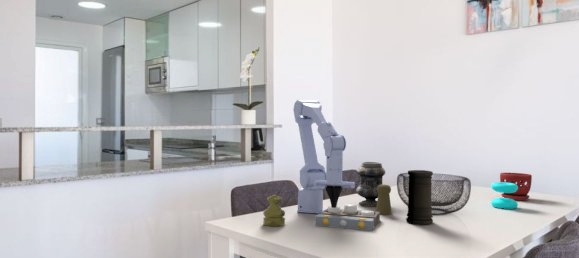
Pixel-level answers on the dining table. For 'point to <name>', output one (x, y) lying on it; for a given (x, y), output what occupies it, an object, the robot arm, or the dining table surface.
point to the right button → (367, 213)
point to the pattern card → (345, 222)
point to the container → (419, 197)
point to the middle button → (350, 209)
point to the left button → (334, 209)
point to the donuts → (504, 202)
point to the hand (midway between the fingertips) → (334, 207)
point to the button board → (355, 215)
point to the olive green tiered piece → (274, 213)
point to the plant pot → (522, 190)
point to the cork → (383, 200)
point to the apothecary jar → (369, 182)
